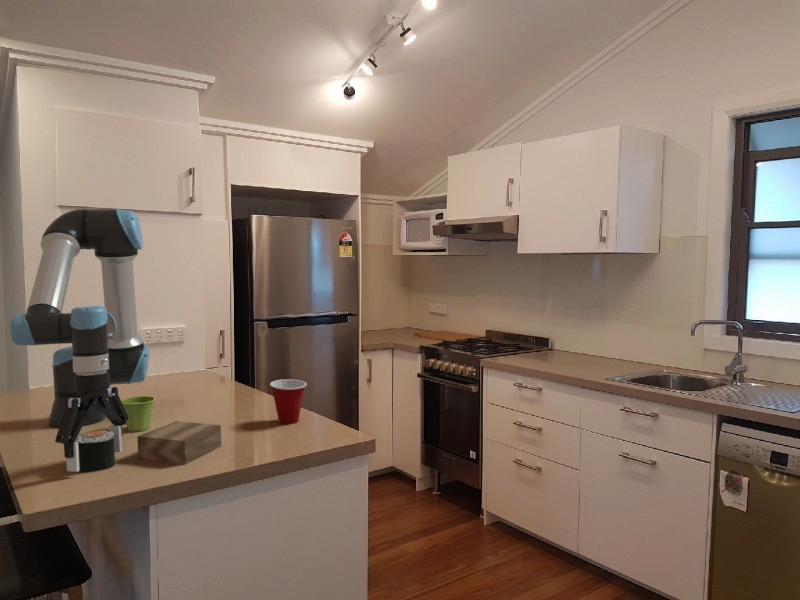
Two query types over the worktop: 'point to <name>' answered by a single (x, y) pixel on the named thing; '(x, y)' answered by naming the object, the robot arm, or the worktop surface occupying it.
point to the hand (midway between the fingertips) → (95, 460)
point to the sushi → (96, 451)
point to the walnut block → (179, 442)
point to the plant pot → (138, 412)
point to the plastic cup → (288, 399)
